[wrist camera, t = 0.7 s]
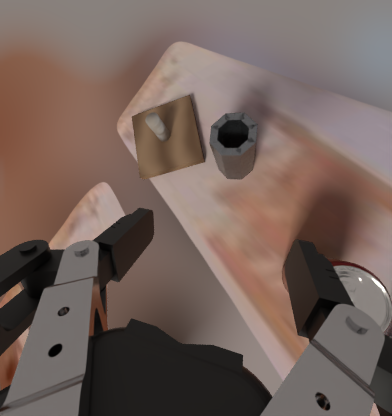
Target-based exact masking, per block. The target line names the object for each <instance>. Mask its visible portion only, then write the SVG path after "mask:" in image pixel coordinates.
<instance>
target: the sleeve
mask: <svg viewBox="0 0 392 416" xmlns="http://www.w3.org/2000/svg"><path fill="white" fill-rule="evenodd" d="M256 136H257V124H256V123H255V122H254V121H253V120H252V119H251V118H250V117H249V116H248V115H247V114H245V113H226V114H224V115H223V116H222V117H221V118H220V119H219V120H218V121H217V122H215V123H214V124H213V125H212V126H211V135H210V146H211V149H212V151H213V154H214V157H215V160H216V163H217V166H218V169H219V170H220V171H221V172H222V173H223V175H224V176H225V177H226V178H227V179H243V178H244V177H245V176H246V175H247V174H249V173H250V172H251V171H252V170H253V162H254V154H255V147H256Z"/></svg>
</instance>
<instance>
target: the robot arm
mask: <svg viewBox="0 0 392 416" xmlns="http://www.w3.org/2000/svg"><path fill="white" fill-rule="evenodd" d="M153 235H154V219H153V211H152V210H149V209H144V208H138V209H137V210H136V211H135V212H134V213H132V214H129V215H126V216H124V217H122V218H120V219H119V220H118V221H117V222H116V223H114V224H113V225H112V226H111V227H109V228H108V229H107V230H105V231H104V232H103V233H102V234H100V235H99V236H98V237H97V238H95V239H94V240H93V241H90V240H86V241H80V242H77V243H74V244H72V245H70V246H69V247H67V248H66V249H65V250H50V248H49V245H48V243H47V242H46V241H44V240H32V241H28V242H24V243H22V244H19V245H18V246H16V247H14V248H12V249H11V250H9V251H7V252H6V253H4V254H2V255H1V256H0V297H1V296H2V295H3V294H5V293H6V292H7V291H9V290H10V289H11V288H12V287H14V286H15V285H16V284H18V283H19V282H20V281H21V283H22V285H23V287H24V290H22V291H21V292H20V293H19V294H17V295H16V296H15V297H14V298H13V299H11V300H10V301H9V302H8V303H7V304H5V305H4V306H3V307H2V308H0V356H1V355H2V354H3V353H4V352H5V350H6V349H7V348H8V347H9V346H10V345H11V344H12V343H13V342H14V341H15V340H16V339H17V338H18V337H19V336H20V335H21V334H22V333H23V332H24V331H25V330H26V329H27V328H28V327H29V326H30V325H31V324H32V325H31V328H30V331H29V334H28V337H27V340H26V343H25V345H24V348H23V351H22V354H21V357H20V360H19V363H18V366H17V369H16V372H15V375H14V378H13V381H12V384H11V385H9V386H8V387H6V388H4V389H3V390H1V391H0V416H370V412H371V409H372V406H373V402H374V403H375V404H376V406H377V408H378V411H379V414H380V416H392V338H390V337H388V336H386V335H384V333H383V331H382V329H381V328H380V326H379V325H378V324H377V323H376V322H375V321H374V320H373V319H372V318H371V317H370V316H369V315H368V314H366V313H365V312H363V311H362V310H360V309H358V308H356V307H355V306H354V304H353V302H352V300H351V298H350V296H349V295H348V293H347V291H346V289H345V287H344V285H343V283H342V282H341V280H340V278H339V276H338V274H337V273H336V270H335V269H334V267H333V265H332V263H331V262H330V261H329V260H328V259H327V258H326V257H325V256H324V255H323V254H318V252H317V250H316V248H315V246H314V244H313V243H312V242H308V241H303V240H298V239H296V240H295V241H294V242H293V245H292V247H291V250H290V252H289V255H288V258H287V260H286V263H285V277H286V281H287V286H288V291H289V295H290V300H291V305H292V310H293V314H294V319H295V324H296V329H297V333H298V335H299V336H303V337H306V338H308V339H309V342H310V343H309V345H308V346H307V348H306V349H305V351H304V352H303V354H302V355H301V356H300V358H299V359H298V361H297V362H296V364H295V365H294V367H293V368H292V370H291V371H290V373H289V374H288V376H287V377H286V379H285V380H284V381H283V383H282V384H281V386H280V388H279V389H278V390H277V392H276V393H275V395H274V396H273V397H272V395H271V394H270V392H269V391H268V390H267V388H266V387H265V386H264V385H263V384H262V382H261V381H260V380H259V379H258V378H257V377H256V376H255V375H254V374H252V373H251V372H250V371H249V370H248V369H247V368H245V367H243V355H241V354H238V353H235V352H232V351H229V350H226V349H223V348H220V347H217V346H214V345H196V344H182V343H179V342H178V341H176V340H175V339H173V338H172V337H170V336H169V335H168V334H166V333H165V332H163V331H162V330H161V329H159V328H158V327H156V326H153V325H150V324H147V323H143V322H141V321H138V320H135V319H131V320H130V322H129V324H128V325H127V327H120V328H114V329H109V330H108V314H107V311H108V309H107V308H108V306H107V305H108V303H107V301H108V300H107V299H108V295H107V294H108V288H107V283H108V282H109V281H110V280H113V281H116V282H120V280H121V279H122V278H123V276H124V275H125V274H126V273H127V271H128V270H129V269H130V268H131V266H132V265H133V263H134V262H135V261H136V260H137V259H138V258H139V256H140V255H141V254H142V252H143V251H144V250H145V249H146V247H147V246H148V245H149V244H150V242H151V241H152V239H153Z"/></svg>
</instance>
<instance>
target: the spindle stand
mask: <svg viewBox="0 0 392 416" xmlns="http://www.w3.org/2000/svg"><path fill="white" fill-rule="evenodd" d="M132 122H133V129H134V136H135V144H136V151H137V159H138V166H139V174H140V178H142V179H148V178H151V177H154V176H158V175H161V174H165V173H168V172H172V171H175V170H179V169H182V168H185V167H189V166H192V165H196V164H199V163H203V162H205V161H204V156H203V151H202V147H201V142H200V137H199V133H198V128H197V124H196V119H195V114H194V110H193V105H192V101H191V98H190V95H188V96H185V97H183V98H180V99H177V100H175V101H172V102H169V103H167V104H164V105H161V106H159V107H156V108H153V109H151V110H148V111H145V112H142V113H140V114H137V115H134V116H132Z"/></svg>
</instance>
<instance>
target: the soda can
mask: <svg viewBox="0 0 392 416" xmlns="http://www.w3.org/2000/svg"><path fill="white" fill-rule="evenodd" d="M326 258H327V259H328V260H329V261H330V262H331V263H332V265H333V267H334V269H335V270H336V273H337V274H338V276H339V278H340V280H341V282H342V283H343V285H344V287H345V289H346V291H347V293H348V295H349V296H350V298H351V300H352V302H353V304H354V306H355V307H356V308H358V309H360V310H362V311H363V312H365V313H366V314H368V315H369V316H370V317H371V318H372V319H373V320H374V321H375V322H376V323H377V324H378V325H379V326H380V328H381V329H382V331H383V333H384V332H385V331H386V329H387V328H388V327H389V324H390V322H391V319H392V301H391V298H390V295H389V293H388V291H387V289H386V287H385V286H384V285H383V283H382V282H381V281H380V280H379V278H378V277H376V276H375V275H374V274H373V273H372V272H370V271H369V270H367V269H366V268H364V267H362V266H360V265H357V264H355V263H351V262H347V261H342V260H337V259H332V258H328V257H326ZM282 280H283V284H284V287H285V289H286V290H287V292H288V293H289V291H288V286H287V281H286V277H285V265H284V267H283V271H282Z"/></svg>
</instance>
